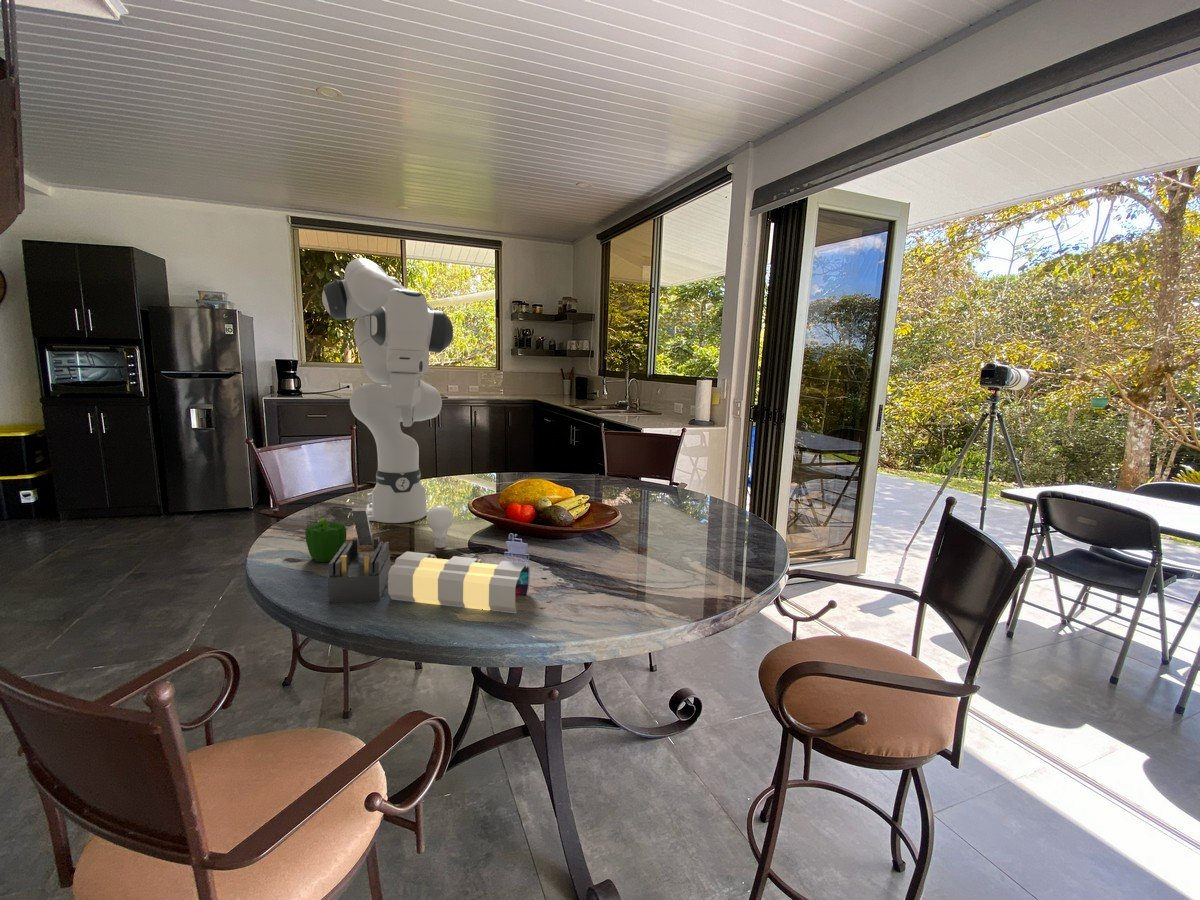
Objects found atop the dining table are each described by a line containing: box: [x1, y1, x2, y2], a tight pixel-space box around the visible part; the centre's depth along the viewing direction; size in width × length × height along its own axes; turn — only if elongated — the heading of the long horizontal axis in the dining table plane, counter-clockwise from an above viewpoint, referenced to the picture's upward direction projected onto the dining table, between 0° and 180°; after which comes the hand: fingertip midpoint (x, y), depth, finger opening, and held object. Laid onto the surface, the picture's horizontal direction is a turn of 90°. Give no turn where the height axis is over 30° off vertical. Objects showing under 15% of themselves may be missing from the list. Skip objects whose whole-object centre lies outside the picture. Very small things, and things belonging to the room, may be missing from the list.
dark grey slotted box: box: [327, 536, 391, 603], centre depth 106 cm, size 13×9×8 cm
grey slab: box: [351, 507, 374, 546], centre depth 107 cm, size 12×2×1 cm
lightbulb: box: [426, 504, 454, 550], centre depth 130 cm, size 6×6×11 cm
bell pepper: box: [304, 517, 347, 563], centre depth 120 cm, size 8×8×10 cm
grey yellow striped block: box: [387, 532, 531, 614], centre depth 104 cm, size 25×10×13 cm, turn 82°
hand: (408, 425), depth 120 cm, fingers open, 2 cm apart
